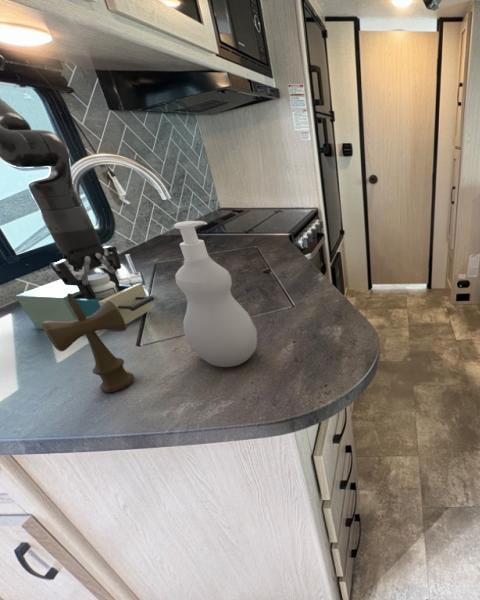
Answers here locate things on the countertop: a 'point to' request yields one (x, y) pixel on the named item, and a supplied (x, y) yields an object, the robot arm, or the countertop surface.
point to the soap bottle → (212, 306)
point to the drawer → (120, 302)
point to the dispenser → (49, 303)
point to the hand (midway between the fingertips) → (103, 292)
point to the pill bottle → (102, 286)
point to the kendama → (93, 341)
